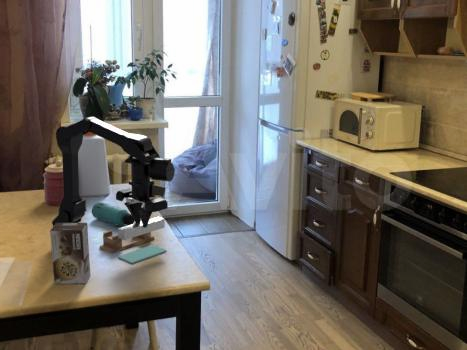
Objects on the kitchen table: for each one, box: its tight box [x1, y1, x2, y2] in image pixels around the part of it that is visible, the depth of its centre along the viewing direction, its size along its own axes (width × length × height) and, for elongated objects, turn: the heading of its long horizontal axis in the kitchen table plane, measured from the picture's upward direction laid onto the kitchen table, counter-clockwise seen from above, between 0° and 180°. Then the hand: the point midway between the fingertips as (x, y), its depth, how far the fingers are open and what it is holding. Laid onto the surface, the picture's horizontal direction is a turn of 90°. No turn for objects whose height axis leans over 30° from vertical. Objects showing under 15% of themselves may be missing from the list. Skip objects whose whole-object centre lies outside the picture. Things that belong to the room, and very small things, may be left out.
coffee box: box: [49, 222, 91, 285], centre depth 158 cm, size 9×6×16 cm
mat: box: [117, 244, 168, 265], centre depth 179 cm, size 14×7×1 cm, turn 138°
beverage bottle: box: [91, 201, 135, 227], centre depth 207 cm, size 6×7×20 cm
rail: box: [117, 216, 165, 240], centre depth 177 cm, size 16×3×3 cm, turn 138°
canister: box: [42, 159, 63, 207], centre depth 230 cm, size 13×13×18 cm
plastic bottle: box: [78, 132, 111, 198], centre depth 243 cm, size 15×15×28 cm
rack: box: [99, 222, 155, 254], centre depth 187 cm, size 18×6×5 cm, turn 138°
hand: (141, 225), depth 177 cm, fingers closed on rail, 3 cm apart
